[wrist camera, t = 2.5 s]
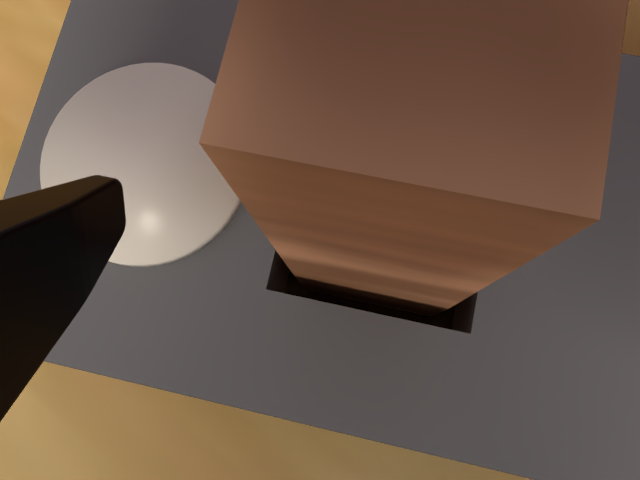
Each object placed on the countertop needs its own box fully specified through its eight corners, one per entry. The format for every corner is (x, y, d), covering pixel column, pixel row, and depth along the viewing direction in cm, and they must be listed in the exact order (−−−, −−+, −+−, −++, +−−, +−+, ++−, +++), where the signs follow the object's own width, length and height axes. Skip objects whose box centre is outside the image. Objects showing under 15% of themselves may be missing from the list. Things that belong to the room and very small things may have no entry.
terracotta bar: (434, 317, 19) (599, 219, 6) (303, 288, 19) (199, 143, 6) (457, 190, 19) (645, -131, 7) (331, 166, 20) (288, -176, 7)
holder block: (706, 506, 17) (810, 549, 13) (25, 343, 19) (-59, 339, 15) (737, 134, 19) (834, 76, 15) (126, 29, 22) (75, -45, 18)
